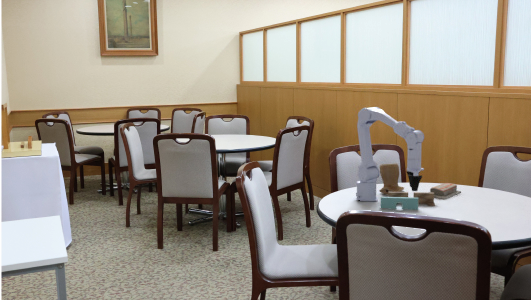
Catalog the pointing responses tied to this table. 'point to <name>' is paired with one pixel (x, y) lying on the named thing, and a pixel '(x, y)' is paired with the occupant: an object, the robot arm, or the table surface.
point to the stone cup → (390, 178)
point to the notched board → (422, 197)
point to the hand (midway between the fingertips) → (413, 189)
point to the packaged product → (444, 190)
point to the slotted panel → (406, 202)
